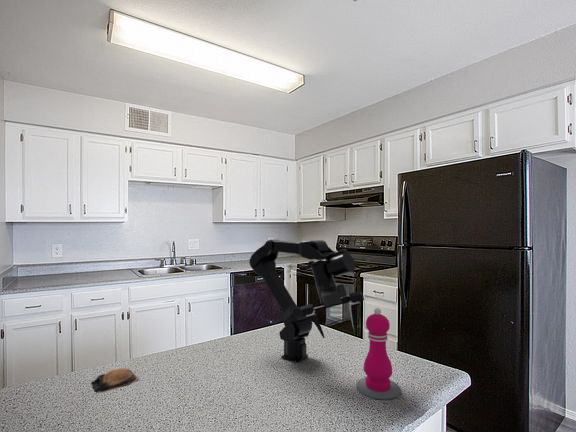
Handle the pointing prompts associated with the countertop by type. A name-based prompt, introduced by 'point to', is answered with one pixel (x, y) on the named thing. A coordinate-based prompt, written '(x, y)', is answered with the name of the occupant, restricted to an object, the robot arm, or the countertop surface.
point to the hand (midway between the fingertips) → (339, 334)
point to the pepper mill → (378, 353)
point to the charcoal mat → (387, 395)
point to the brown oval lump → (114, 379)
